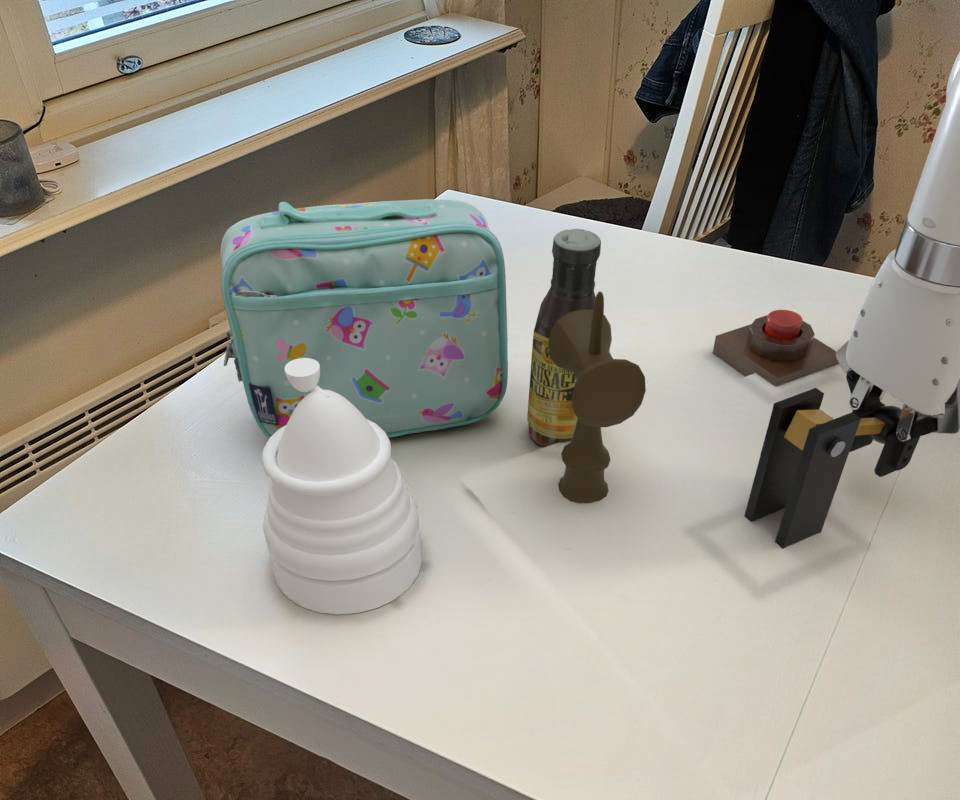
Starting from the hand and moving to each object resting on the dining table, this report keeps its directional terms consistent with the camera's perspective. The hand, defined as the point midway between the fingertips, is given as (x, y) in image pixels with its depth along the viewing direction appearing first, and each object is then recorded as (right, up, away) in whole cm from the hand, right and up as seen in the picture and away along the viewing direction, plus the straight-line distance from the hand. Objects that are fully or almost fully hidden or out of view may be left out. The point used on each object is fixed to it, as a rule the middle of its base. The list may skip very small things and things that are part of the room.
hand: (872, 457), depth 79 cm
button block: (-2, +14, +20) cm, 24 cm away
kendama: (-25, -3, +5) cm, 26 cm away
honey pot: (-46, -9, -1) cm, 47 cm away
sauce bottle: (-27, +4, +11) cm, 29 cm away
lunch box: (-45, +6, +14) cm, 48 cm away
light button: (-2, +17, +17) cm, 24 cm away
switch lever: (-4, 0, -4) cm, 6 cm away
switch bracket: (-8, -7, +1) cm, 10 cm away
